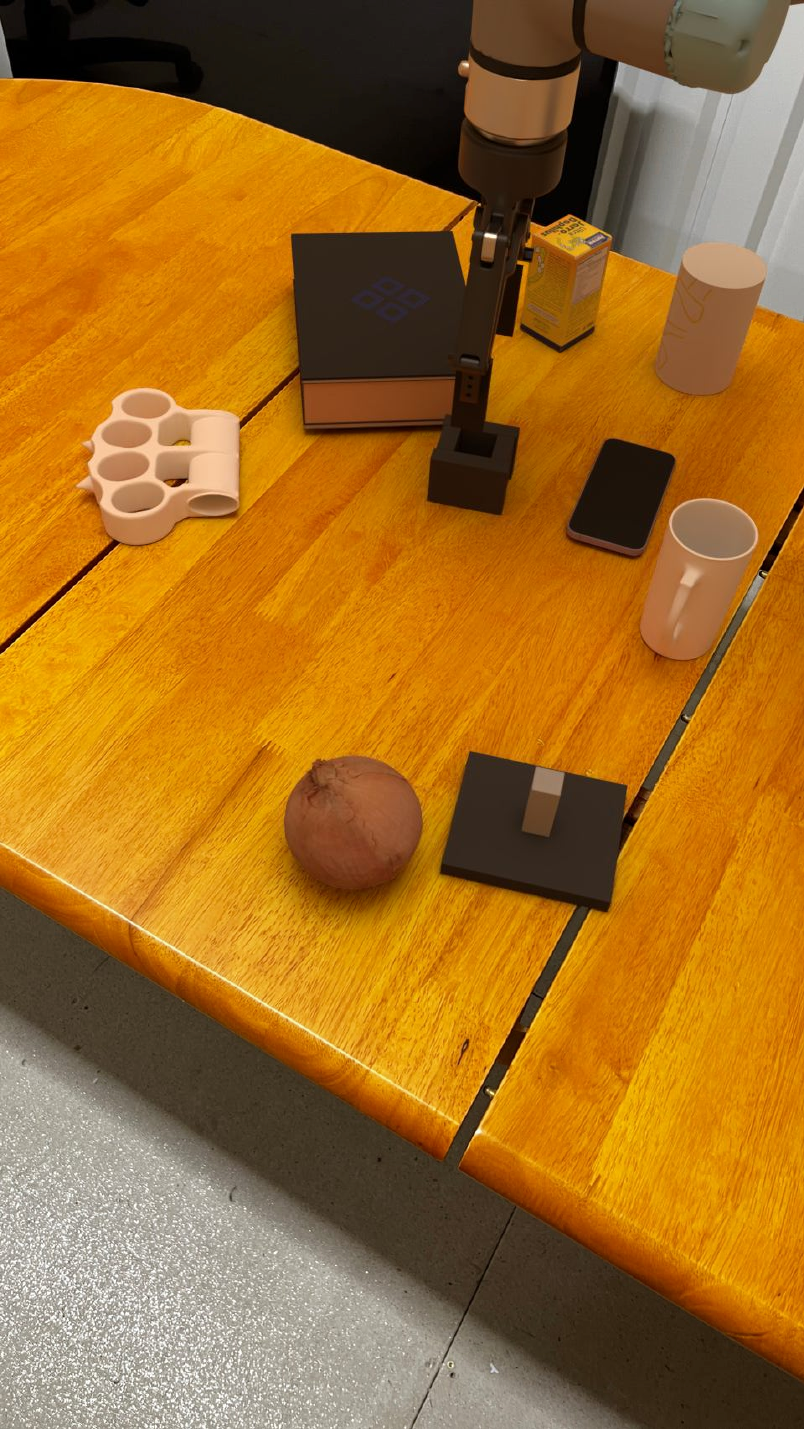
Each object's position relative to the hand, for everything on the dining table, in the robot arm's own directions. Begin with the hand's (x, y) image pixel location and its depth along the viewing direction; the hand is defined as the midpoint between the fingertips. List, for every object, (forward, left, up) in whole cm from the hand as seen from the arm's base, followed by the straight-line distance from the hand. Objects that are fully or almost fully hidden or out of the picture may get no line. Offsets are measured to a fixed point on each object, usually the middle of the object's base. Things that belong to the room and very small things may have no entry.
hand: (483, 377), depth 94 cm
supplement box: (-4, -27, -12) cm, 30 cm away
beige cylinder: (-19, -24, -12) cm, 33 cm away
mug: (-20, +15, -12) cm, 28 cm away
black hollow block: (0, 0, -12) cm, 12 cm away
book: (+13, -17, -12) cm, 24 cm away
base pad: (-12, +36, -12) cm, 40 cm away
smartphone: (-14, -2, -12) cm, 19 cm away
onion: (0, +41, -12) cm, 43 cm away
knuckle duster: (+28, +7, -12) cm, 31 cm away
